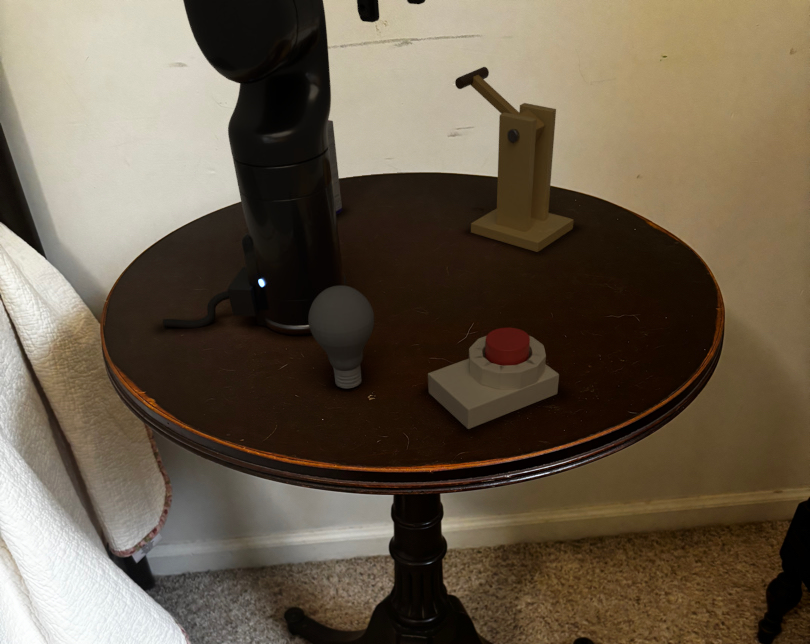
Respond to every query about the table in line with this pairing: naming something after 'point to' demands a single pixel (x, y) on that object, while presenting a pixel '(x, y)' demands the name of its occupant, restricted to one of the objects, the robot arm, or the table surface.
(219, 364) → the table surface
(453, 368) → the block
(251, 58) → the robot arm
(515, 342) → the bell button
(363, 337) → the light bulb
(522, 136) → the stand
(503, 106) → the lever
